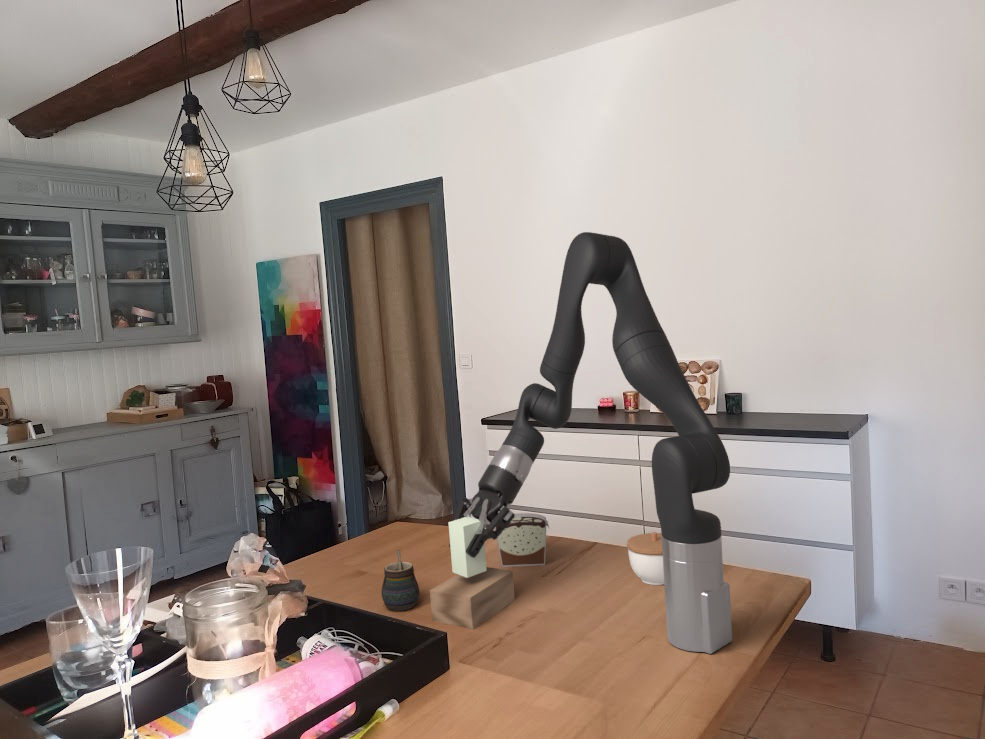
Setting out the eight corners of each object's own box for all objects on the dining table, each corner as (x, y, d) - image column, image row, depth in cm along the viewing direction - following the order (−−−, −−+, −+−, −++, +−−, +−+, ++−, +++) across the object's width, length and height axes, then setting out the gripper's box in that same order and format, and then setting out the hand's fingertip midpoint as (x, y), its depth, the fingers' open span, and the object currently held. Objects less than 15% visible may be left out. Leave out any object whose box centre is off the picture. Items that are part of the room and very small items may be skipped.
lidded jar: (671, 593, 138) (668, 544, 138) (619, 584, 145) (616, 537, 144) (693, 574, 147) (690, 528, 146) (643, 566, 153) (641, 522, 153)
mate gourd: (385, 617, 137) (380, 565, 137) (380, 602, 145) (375, 552, 144) (423, 610, 139) (419, 558, 139) (416, 596, 147) (412, 547, 146)
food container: (552, 555, 165) (549, 511, 164) (552, 564, 159) (548, 519, 158) (497, 557, 166) (494, 513, 165) (495, 566, 160) (491, 521, 159)
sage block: (486, 570, 137) (482, 520, 136) (467, 577, 134) (463, 526, 133) (471, 565, 140) (467, 516, 139) (452, 572, 137) (448, 522, 136)
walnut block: (514, 601, 141) (512, 570, 140) (473, 631, 129) (470, 597, 129) (476, 594, 146) (473, 564, 145) (432, 622, 134) (429, 590, 134)
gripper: (471, 459, 146) (425, 534, 139) (519, 467, 135) (473, 550, 128) (493, 480, 150) (450, 554, 143) (542, 490, 139) (498, 571, 132)
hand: (461, 551), depth 136 cm, fingers closed on sage block, 4 cm apart
